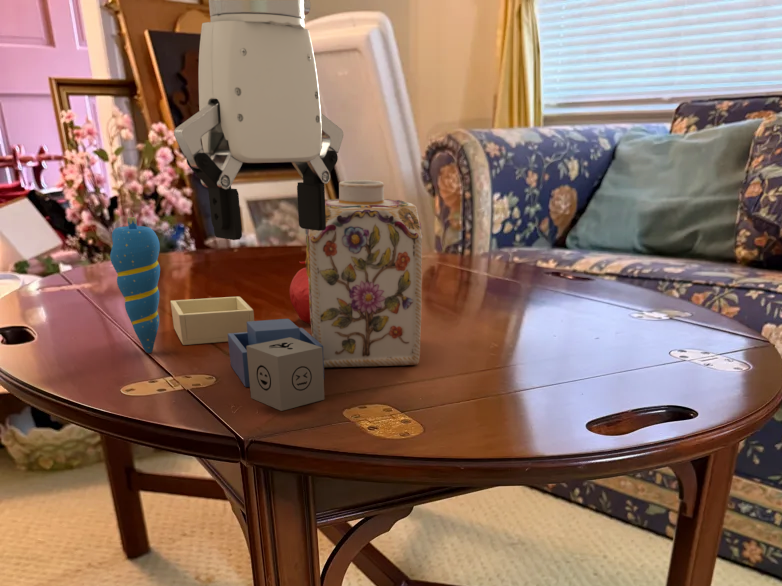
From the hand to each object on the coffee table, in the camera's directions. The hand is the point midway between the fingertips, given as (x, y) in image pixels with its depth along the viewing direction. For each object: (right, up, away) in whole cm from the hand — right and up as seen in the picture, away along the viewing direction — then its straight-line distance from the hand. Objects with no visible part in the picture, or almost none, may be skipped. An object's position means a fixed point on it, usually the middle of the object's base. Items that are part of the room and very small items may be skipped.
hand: (272, 233), depth 69 cm
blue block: (-2, -10, +11) cm, 15 cm away
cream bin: (-12, -2, +25) cm, 28 cm away
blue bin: (-1, -10, +11) cm, 15 cm away
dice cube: (+1, -15, +4) cm, 15 cm away
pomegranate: (+2, +1, +32) cm, 32 cm away
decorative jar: (+7, -7, +18) cm, 21 cm away
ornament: (-17, -7, +17) cm, 25 cm away
